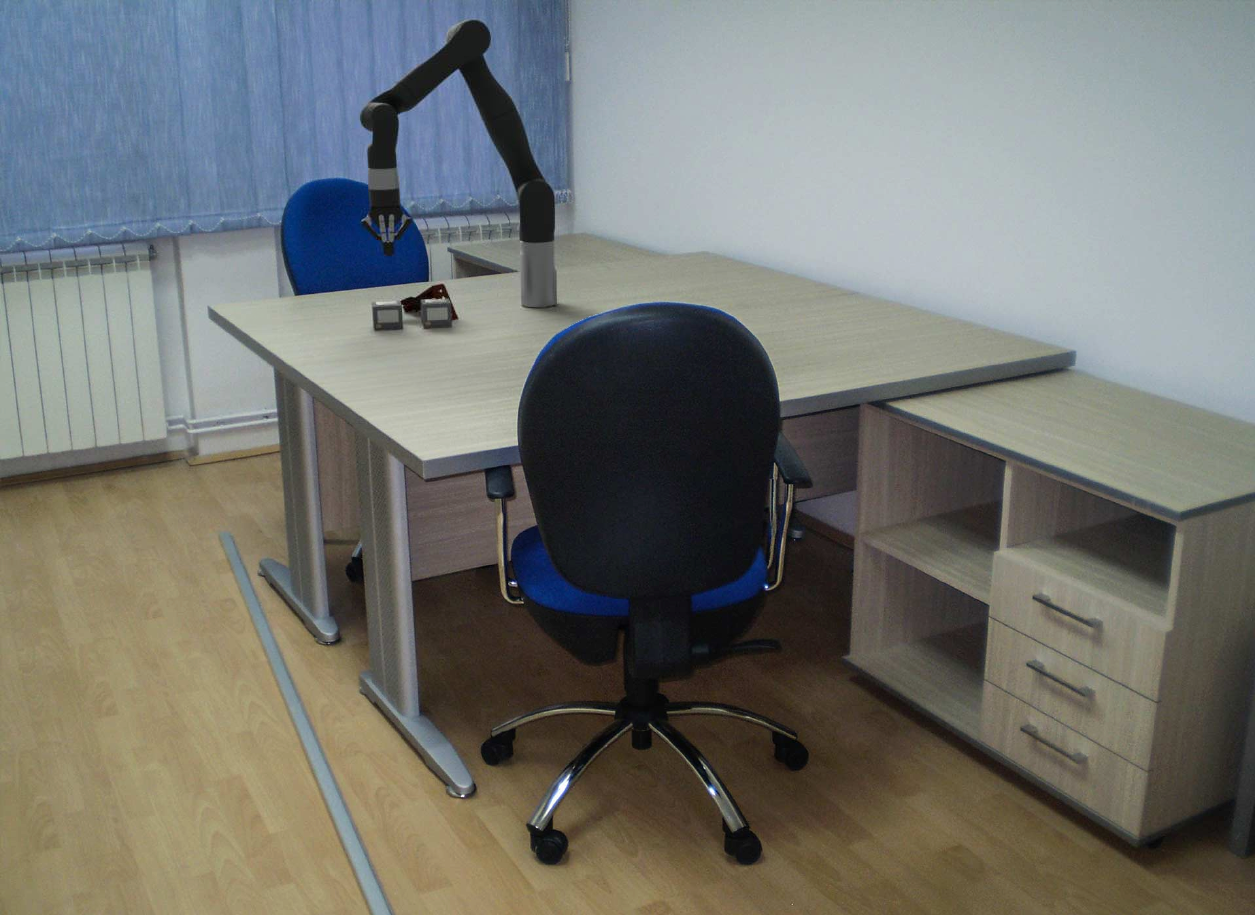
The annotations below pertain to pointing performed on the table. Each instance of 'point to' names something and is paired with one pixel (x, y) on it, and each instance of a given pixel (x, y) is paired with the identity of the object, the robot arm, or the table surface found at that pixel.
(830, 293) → the table surface
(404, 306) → the bracket
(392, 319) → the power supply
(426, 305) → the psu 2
